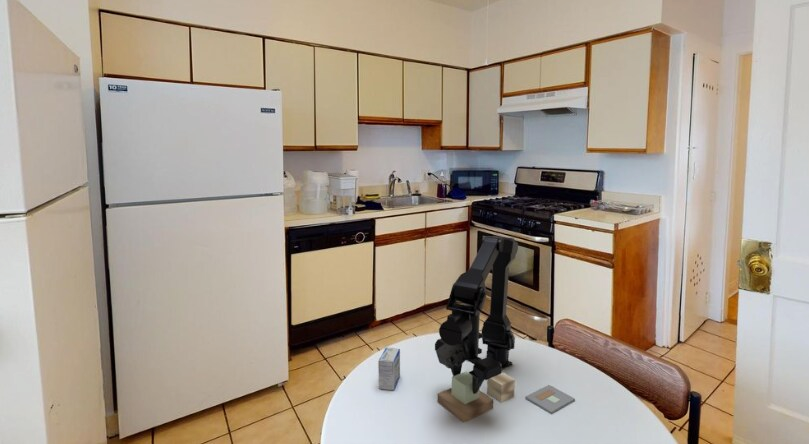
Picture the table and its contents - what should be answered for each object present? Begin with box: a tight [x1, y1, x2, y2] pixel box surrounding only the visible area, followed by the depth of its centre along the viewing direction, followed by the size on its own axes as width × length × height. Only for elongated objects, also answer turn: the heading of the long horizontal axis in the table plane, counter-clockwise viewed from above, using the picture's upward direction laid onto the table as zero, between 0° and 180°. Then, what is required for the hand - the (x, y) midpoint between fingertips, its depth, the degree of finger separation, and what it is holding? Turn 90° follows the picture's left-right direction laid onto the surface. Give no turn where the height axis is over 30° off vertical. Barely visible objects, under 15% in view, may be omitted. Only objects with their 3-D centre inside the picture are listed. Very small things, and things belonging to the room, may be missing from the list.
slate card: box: [524, 384, 576, 415], centre depth 110 cm, size 10×8×1 cm
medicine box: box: [377, 347, 401, 391], centre depth 118 cm, size 8×4×9 cm, turn 169°
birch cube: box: [486, 371, 516, 403], centre depth 112 cm, size 5×5×5 cm
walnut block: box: [436, 387, 494, 423], centre depth 108 cm, size 10×10×3 cm
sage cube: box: [451, 370, 481, 404], centre depth 107 cm, size 5×5×5 cm
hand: (465, 387), depth 107 cm, fingers open, 6 cm apart
